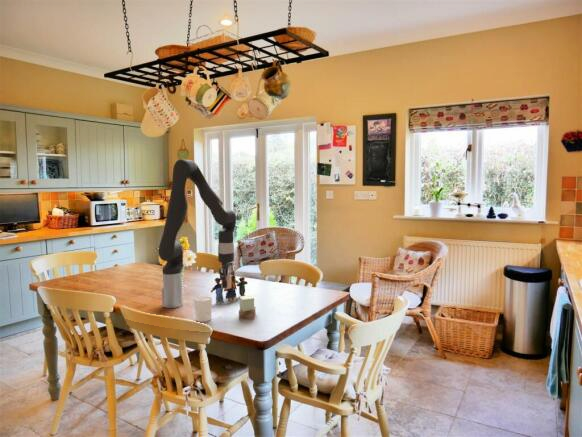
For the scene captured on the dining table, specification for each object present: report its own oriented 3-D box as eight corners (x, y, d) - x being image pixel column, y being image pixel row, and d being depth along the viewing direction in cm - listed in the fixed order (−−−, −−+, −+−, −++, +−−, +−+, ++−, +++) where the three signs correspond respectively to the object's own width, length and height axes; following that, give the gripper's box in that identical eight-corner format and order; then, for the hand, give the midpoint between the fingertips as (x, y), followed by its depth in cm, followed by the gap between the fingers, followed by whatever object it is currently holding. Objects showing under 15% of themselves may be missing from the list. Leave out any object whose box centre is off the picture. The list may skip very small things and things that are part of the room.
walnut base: (239, 319, 192) (238, 311, 191) (240, 314, 199) (240, 306, 198) (254, 319, 192) (253, 311, 191) (255, 314, 199) (255, 306, 198)
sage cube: (242, 311, 191) (242, 299, 191) (239, 307, 196) (239, 296, 196) (254, 309, 193) (253, 298, 193) (250, 306, 198) (250, 295, 198)
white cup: (191, 321, 190) (190, 300, 189) (201, 315, 197) (200, 295, 196) (206, 323, 187) (205, 301, 186) (215, 317, 194) (214, 296, 193)
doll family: (223, 307, 210) (222, 281, 208) (209, 304, 214) (208, 279, 213) (249, 295, 230) (248, 271, 229) (235, 293, 234) (234, 270, 233)
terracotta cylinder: (219, 288, 198) (219, 276, 198) (223, 285, 203) (223, 273, 202) (229, 289, 198) (229, 276, 197) (232, 286, 202) (232, 274, 202)
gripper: (223, 248, 206) (223, 282, 208) (213, 254, 192) (213, 290, 194) (237, 249, 205) (238, 282, 207) (229, 254, 191) (229, 290, 193)
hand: (226, 286), depth 200 cm, fingers closed on terracotta cylinder, 4 cm apart
